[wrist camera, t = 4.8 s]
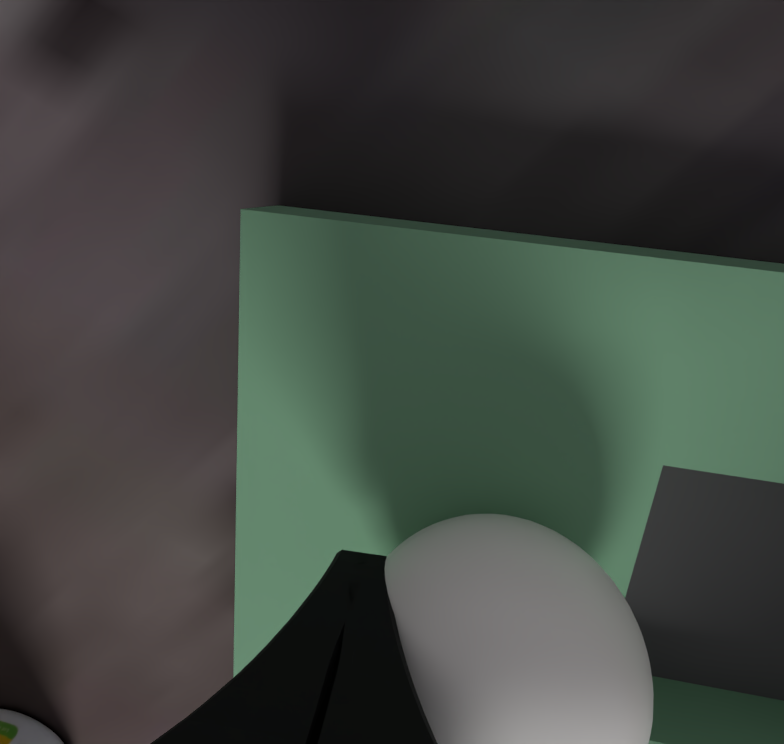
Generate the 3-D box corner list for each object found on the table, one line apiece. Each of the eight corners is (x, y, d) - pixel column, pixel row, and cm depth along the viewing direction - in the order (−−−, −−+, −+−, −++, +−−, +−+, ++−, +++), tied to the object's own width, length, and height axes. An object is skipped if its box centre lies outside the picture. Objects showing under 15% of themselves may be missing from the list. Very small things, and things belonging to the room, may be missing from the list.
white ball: (506, 660, 16) (693, 874, 11) (300, 716, 14) (409, 1029, 8) (536, 461, 15) (763, 592, 10) (315, 481, 12) (456, 675, 7)
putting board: (930, 839, 18) (998, 937, 16) (260, 701, 20) (231, 769, 18) (1243, 316, 13) (1419, 346, 10) (278, 205, 15) (240, 208, 12)
